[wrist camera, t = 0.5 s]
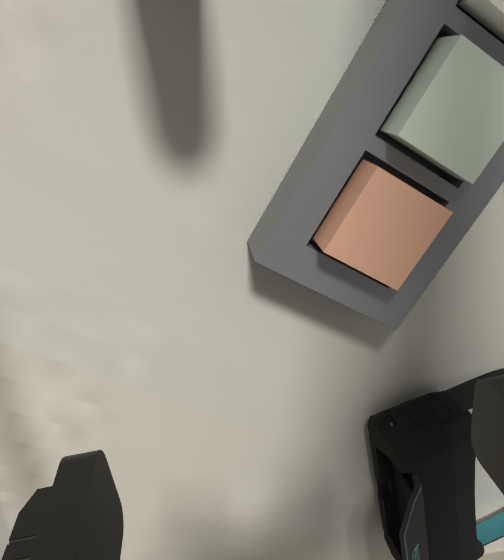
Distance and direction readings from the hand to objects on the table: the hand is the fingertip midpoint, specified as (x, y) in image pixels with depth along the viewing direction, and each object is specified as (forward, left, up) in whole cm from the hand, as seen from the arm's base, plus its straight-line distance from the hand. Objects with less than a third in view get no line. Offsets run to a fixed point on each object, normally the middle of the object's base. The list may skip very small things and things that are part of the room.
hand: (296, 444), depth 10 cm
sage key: (-11, +10, -22) cm, 27 cm away
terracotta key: (-3, +10, -22) cm, 25 cm away
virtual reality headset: (+12, +33, -26) cm, 43 cm away
